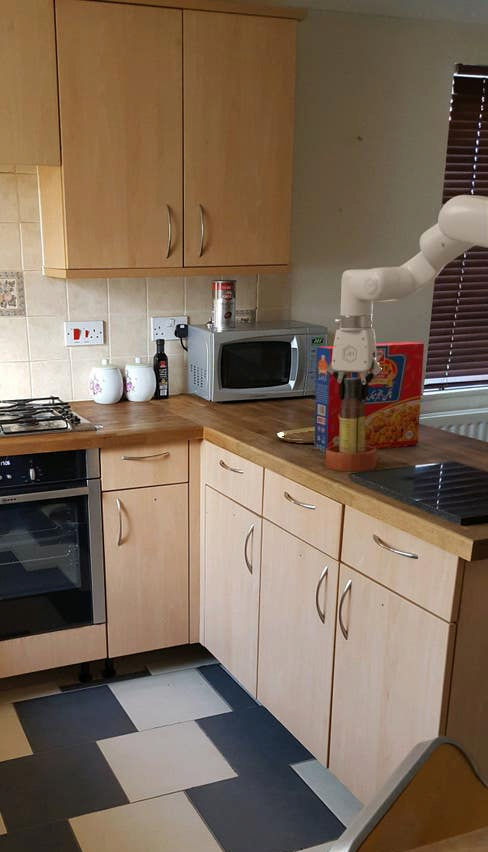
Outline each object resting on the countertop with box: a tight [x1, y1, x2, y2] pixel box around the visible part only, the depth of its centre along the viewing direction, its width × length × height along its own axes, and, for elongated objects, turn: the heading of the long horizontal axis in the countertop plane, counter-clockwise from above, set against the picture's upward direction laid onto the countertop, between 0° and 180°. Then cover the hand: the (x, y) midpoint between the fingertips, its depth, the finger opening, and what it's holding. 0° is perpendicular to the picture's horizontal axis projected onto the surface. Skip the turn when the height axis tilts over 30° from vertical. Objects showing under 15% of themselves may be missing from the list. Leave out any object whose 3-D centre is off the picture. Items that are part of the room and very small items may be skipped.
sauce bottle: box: [340, 377, 365, 453], centre depth 219 cm, size 6×6×20 cm
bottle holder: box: [324, 445, 378, 472], centre depth 222 cm, size 13×13×4 cm
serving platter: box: [276, 426, 315, 443], centre depth 265 cm, size 19×35×2 cm, turn 120°
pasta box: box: [313, 341, 425, 452], centre depth 242 cm, size 28×8×28 cm, turn 106°
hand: (353, 398), depth 217 cm, fingers closed on sauce bottle, 4 cm apart
